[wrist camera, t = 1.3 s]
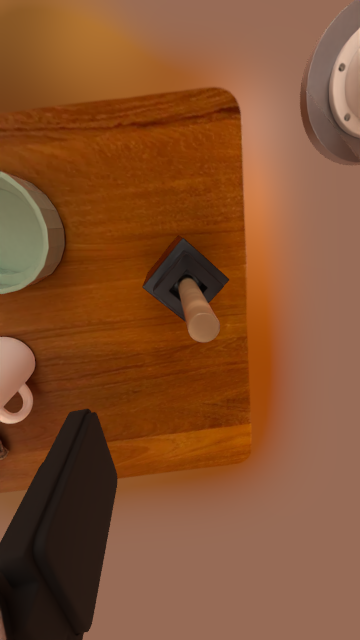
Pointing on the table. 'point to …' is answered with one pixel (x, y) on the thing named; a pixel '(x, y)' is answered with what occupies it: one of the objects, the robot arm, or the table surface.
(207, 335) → the stick
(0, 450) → the seashell
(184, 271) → the vase
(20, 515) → the robot arm
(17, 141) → the table surface
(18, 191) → the bowl
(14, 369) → the mug
